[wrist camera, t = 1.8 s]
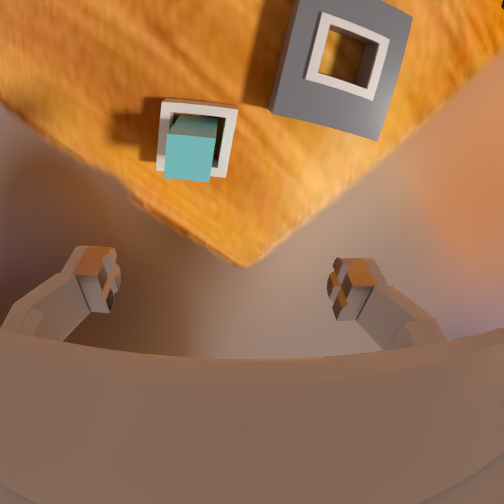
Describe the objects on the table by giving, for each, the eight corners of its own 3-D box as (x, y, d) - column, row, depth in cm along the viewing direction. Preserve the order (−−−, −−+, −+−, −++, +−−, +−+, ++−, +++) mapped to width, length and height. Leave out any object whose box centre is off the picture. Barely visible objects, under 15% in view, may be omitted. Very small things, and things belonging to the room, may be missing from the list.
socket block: (267, 108, 28) (272, 114, 25) (299, -22, 18) (307, -29, 16) (365, 133, 30) (378, 142, 27) (398, 18, 20) (414, 17, 18)
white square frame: (160, 162, 30) (156, 170, 28) (166, 98, 26) (161, 101, 24) (225, 169, 32) (225, 177, 30) (237, 105, 27) (238, 109, 25)
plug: (176, 149, 30) (163, 177, 23) (180, 114, 27) (167, 133, 21) (212, 152, 30) (209, 182, 24) (217, 118, 28) (216, 138, 22)
